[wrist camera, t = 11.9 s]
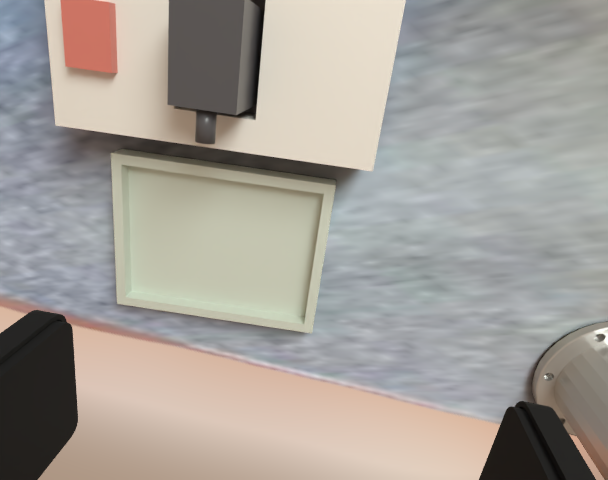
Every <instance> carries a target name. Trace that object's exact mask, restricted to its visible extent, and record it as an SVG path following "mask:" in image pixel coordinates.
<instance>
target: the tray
mask: <svg viewBox="0 0 608 480" xmlns="http://www.w3.org/2000/svg"><path fill="white" fill-rule="evenodd" d="M111 170H112V194H113V217H114V241H115V265H116V289H117V304H122V305H129V306H135V307H142V308H148V309H155V310H162V311H168V312H175V313H181V314H188V315H194V316H201V317H207V318H214V319H221V320H227V321H234V322H240V323H247V324H253V325H260V326H267V327H273V328H280V329H286V330H293V331H299V332H306V333H312V329H313V323H314V317H315V311H316V305H317V298H318V292H319V286H320V280H321V274H322V268H323V262H324V255H325V249H326V243H327V237H328V231H329V225H330V218H331V212H332V206H333V200H334V194H335V188H336V180H333V179H327V178H320V177H313V176H306V175H299V174H292V173H285V172H278V171H272V170H265V169H258V168H251V167H244V166H237V165H230V164H223V163H217V162H210V161H203V160H196V159H189V158H182V157H175V156H168V155H161V154H155V153H148V152H141V151H134V150H127V149H119V150H117V151H114V152H112V153H111Z"/></svg>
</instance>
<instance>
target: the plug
mask: <svg viewBox="0 0 608 480" xmlns="http://www.w3.org/2000/svg"><path fill="white" fill-rule="evenodd" d="M264 14H265V11H264V10H263V9H262V8H260V7H259V6H257V5H256V4H255V3H253V2H252V1H250V0H169V29H168V105H172V106H179V107H185V108H192V109H196V130H195V142H197V143H201V144H215V138H216V120H217V112H219V113H226V114H232V115H238V114H239V113H241V112H243V111H245V110H247V109H249V108H251V107H253V106H255V105H257V97H258V85H259V73H260V61H261V49H262V38H263V26H264Z"/></svg>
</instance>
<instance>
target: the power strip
mask: <svg viewBox="0 0 608 480" xmlns="http://www.w3.org/2000/svg"><path fill="white" fill-rule="evenodd" d="M250 1H252V2H253V3H255V4H256V5H257V6H259V7H260V8H262V9H263V10H264V11H265V14H264V26H263V38H262V49H261V61H260V73H259V85H258V97H257V105H255V106H253V107H251V108H249V109H247V110H245V111H243V112H241V113H239V114H238V115H232V114H226V113H219V112H217V120H216V138H215V144H201V143H197V142H195V130H196V109H192V108H185V107H179V106H172V105H168V29H169V0H45V12H46V23H47V34H48V45H49V57H50V68H51V79H52V91H53V102H54V113H55V124H56V126H63V127H70V128H77V129H84V130H90V131H97V132H104V133H111V134H118V135H125V136H132V137H139V138H146V139H153V140H160V141H166V142H173V143H180V144H187V145H194V146H201V147H208V148H215V149H222V150H229V151H236V152H242V153H249V154H256V155H263V156H270V157H277V158H284V159H291V160H298V161H305V162H312V163H318V164H325V165H332V166H339V167H346V168H353V169H360V170H367V171H373V167H374V162H375V157H376V152H377V147H378V141H379V136H380V131H381V126H382V121H383V116H384V110H385V105H386V100H387V95H388V90H389V85H390V79H391V74H392V69H393V64H394V59H395V53H396V48H397V43H398V38H399V33H400V28H401V22H402V17H403V12H404V7H405V2H406V0H250Z"/></svg>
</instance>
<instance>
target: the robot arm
mask: <svg viewBox="0 0 608 480" xmlns="http://www.w3.org/2000/svg"><path fill="white" fill-rule="evenodd" d="M532 385H533V395H534V399H535V402H536V404H534V403H529V402H524V401H521V402H518V403H517V404H516V406H515V407H509V408H508V409H507V410H506V412H505V415H504V417H503V420H502V422H501V425H500V428H499V430H498V433H497V435H496V438H495V440H494V443H493V445H492V448H491V450H490V453H489V456H488V458H487V461H486V463H485V466H484V468H483V471H482V473H481V476H480V478H479V480H596V479H595V477H594V476H593V474H592V472H591V471H590V469H589V467H588V466H587V464H586V462H585V461H584V459H583V457H582V456H581V454H580V452H579V450H578V449H577V448H576V445H575V444H574V442H573V440H572V439H571V437H570V435H569V434H571V435H575V436H577V437H578V439H579V440H580V442H581V443H582V445H583V447H584V448H585V450H586V451H587V453H588V454H589V456H590V457H591V459H592V460H593V462H594V464H595V465H596V467H597V468H598V470H599V472H600V473H601V475H602V476H603V477H604V479H605V480H608V322H603V323H596V324H593V325H590V326H587V327H584V328H581V329H579V330H577V331H575V332H573V333H571V334H569V335H567V336H566V337H564V338H563V339H561V340H560V341H558V342H557V343H556V344H555V345H554V346H553V347H551V348H550V349H549V350H548V351H547V352H546V354H545V355H544V356H543V358H542V359H541V360H540V362H539V364H538V366H537V368H536V370H535V373H534V378H533V382H532ZM77 412H78V411H77V395H76V380H75V364H74V347H73V333H72V326H71V324H69V323H67V322H66V319H65V317H64V316H63V315H61V314H55V313H50V312H45V311H39V310H34V311H32V312H30V313H28V314H27V315H25V316H24V317H23V318H21V319H20V320H18V321H17V322H16V323H14V324H13V325H11V326H10V327H9V328H7V329H6V330H4V331H3V332H2V333H0V480H37V479H38V478H39V477H40V476H41V475H42V473H43V472H44V471H45V469H46V468H47V467H48V466H49V464H50V463H51V462H52V461H53V459H54V458H55V457H56V455H57V454H58V453H59V452H60V450H61V449H62V448H63V447H64V445H65V444H66V443H67V442H68V440H69V439H70V438H71V436H72V435H73V433H74V431H75V429H76V426H77V422H78V413H77Z"/></svg>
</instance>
